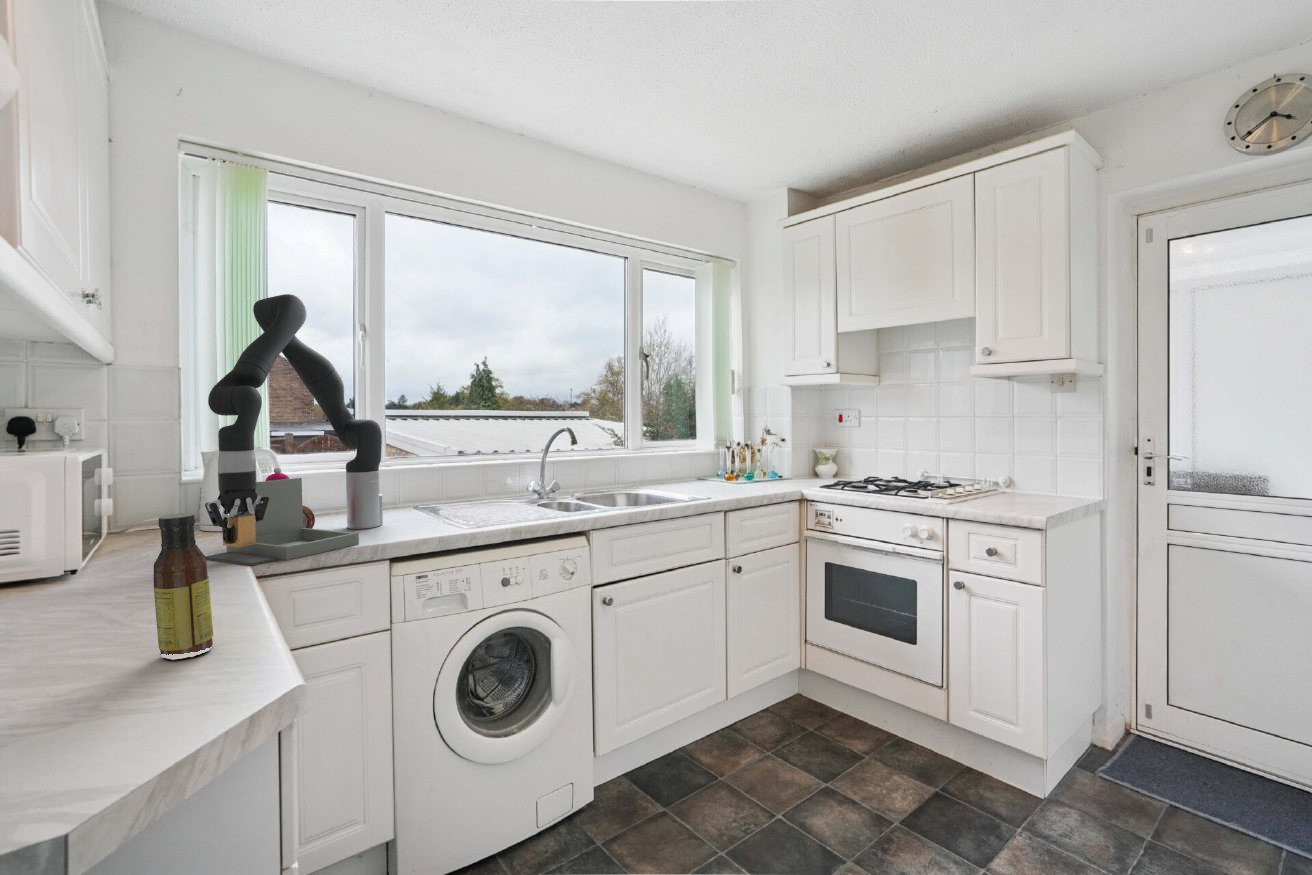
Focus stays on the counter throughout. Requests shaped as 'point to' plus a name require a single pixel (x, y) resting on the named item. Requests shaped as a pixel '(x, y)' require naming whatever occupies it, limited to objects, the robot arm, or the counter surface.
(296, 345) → the robot arm
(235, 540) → the block
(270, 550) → the case
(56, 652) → the counter surface
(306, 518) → the brown rounded piece
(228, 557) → the mat
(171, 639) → the sauce bottle
